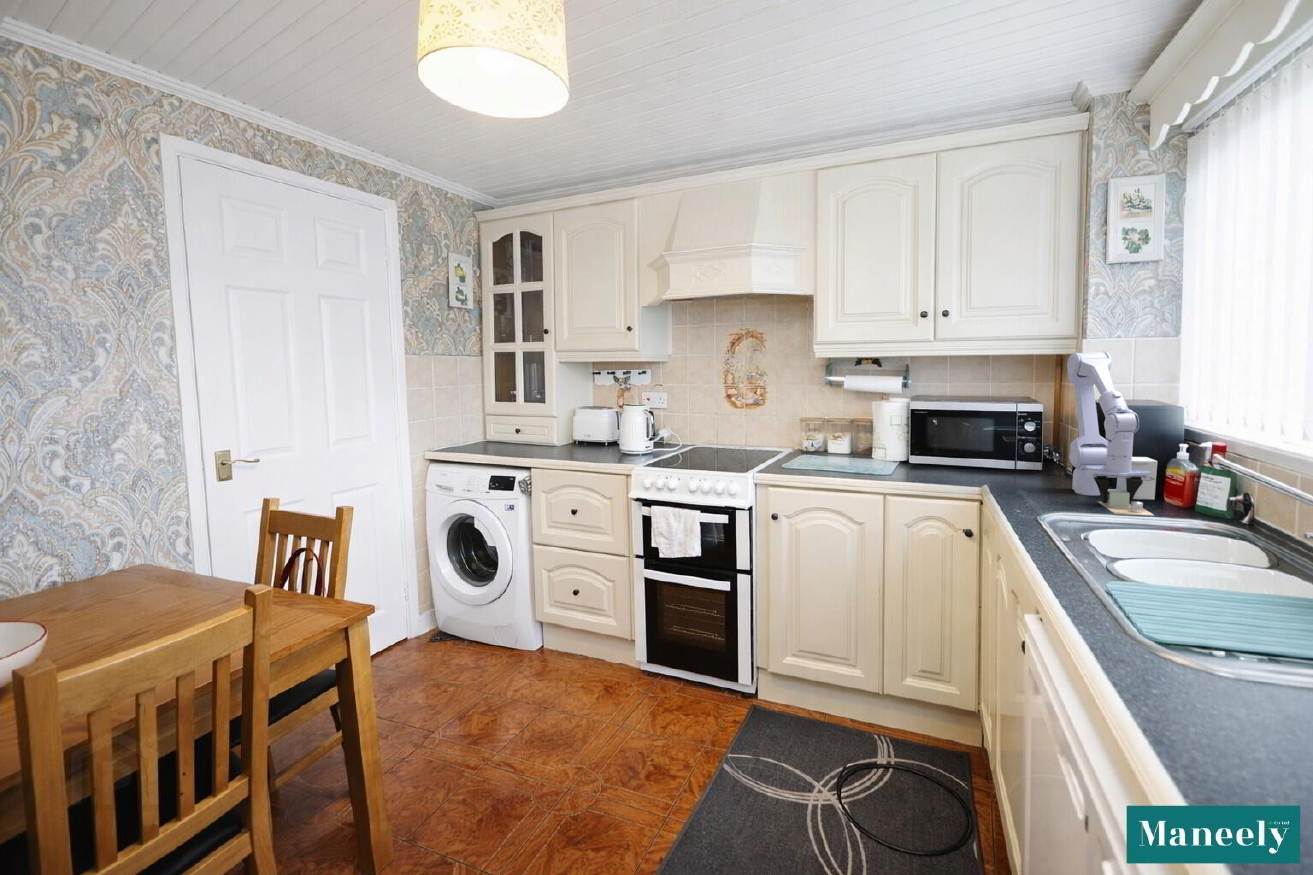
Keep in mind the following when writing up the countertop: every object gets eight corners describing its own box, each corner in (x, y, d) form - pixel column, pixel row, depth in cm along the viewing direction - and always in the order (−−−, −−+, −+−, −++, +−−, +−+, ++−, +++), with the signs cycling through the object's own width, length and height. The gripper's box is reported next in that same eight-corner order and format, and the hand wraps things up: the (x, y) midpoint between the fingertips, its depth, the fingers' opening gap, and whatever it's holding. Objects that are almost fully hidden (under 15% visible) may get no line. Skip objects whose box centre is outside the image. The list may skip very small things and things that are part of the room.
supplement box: (1125, 502, 186) (1128, 460, 184) (1115, 496, 193) (1117, 456, 191) (1155, 503, 184) (1158, 460, 182) (1143, 497, 191) (1146, 456, 189)
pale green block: (1103, 502, 183) (1104, 488, 182) (1122, 503, 181) (1123, 489, 181) (1109, 506, 178) (1110, 492, 178) (1128, 507, 177) (1129, 493, 176)
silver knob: (1128, 514, 174) (1129, 500, 174) (1139, 514, 174) (1140, 501, 173) (1132, 516, 172) (1133, 503, 171) (1143, 517, 171) (1144, 503, 171)
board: (1097, 505, 184) (1097, 501, 184) (1133, 506, 182) (1134, 502, 181) (1114, 518, 171) (1115, 513, 171) (1154, 519, 168) (1155, 515, 168)
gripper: (1093, 457, 176) (1091, 505, 178) (1156, 458, 172) (1152, 507, 174) (1085, 453, 183) (1083, 499, 185) (1145, 454, 178) (1142, 501, 180)
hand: (1116, 502), depth 180 cm, fingers open, 5 cm apart
